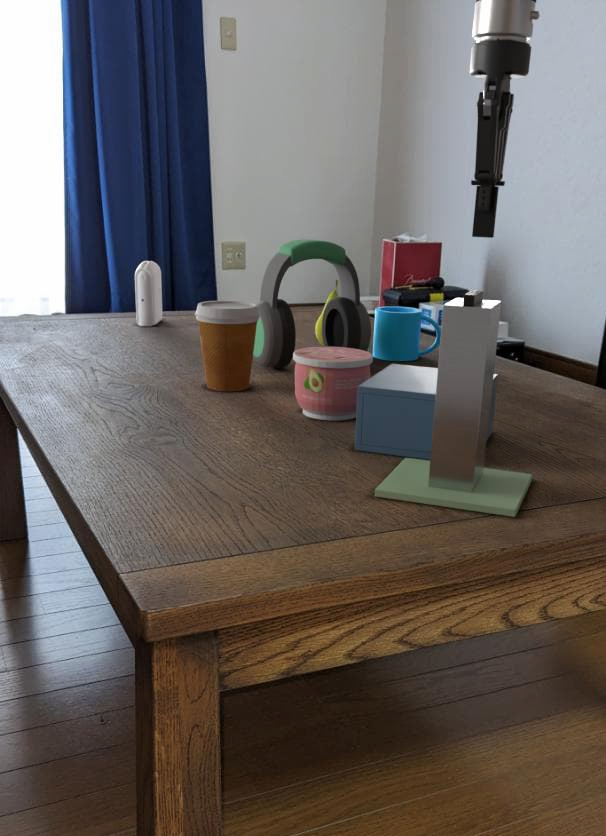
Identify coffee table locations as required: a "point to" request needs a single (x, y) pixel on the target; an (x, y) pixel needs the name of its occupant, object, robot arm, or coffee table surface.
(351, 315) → the headphones
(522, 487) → the mat
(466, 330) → the silver box
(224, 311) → the disposable coffee cup
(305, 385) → the container
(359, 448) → the cabinet
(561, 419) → the coffee table surface
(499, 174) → the robot arm
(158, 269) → the white pill-shaped pillar
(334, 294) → the fruit
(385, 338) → the mug
